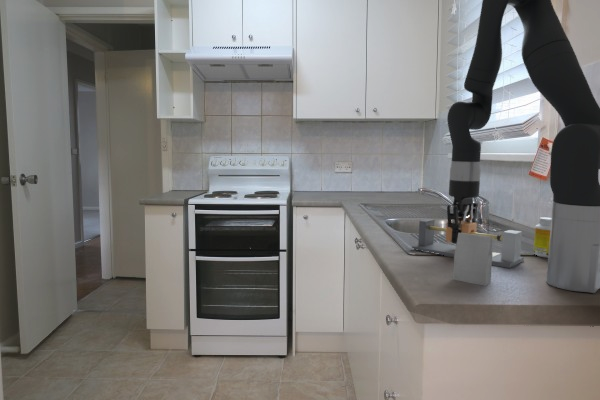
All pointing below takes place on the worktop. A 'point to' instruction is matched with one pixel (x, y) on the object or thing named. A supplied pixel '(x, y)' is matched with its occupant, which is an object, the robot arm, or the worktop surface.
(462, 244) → the grey tapered slab
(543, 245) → the supplement bottle
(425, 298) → the worktop surface
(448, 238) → the sleeve
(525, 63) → the robot arm
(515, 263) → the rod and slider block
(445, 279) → the worktop surface
